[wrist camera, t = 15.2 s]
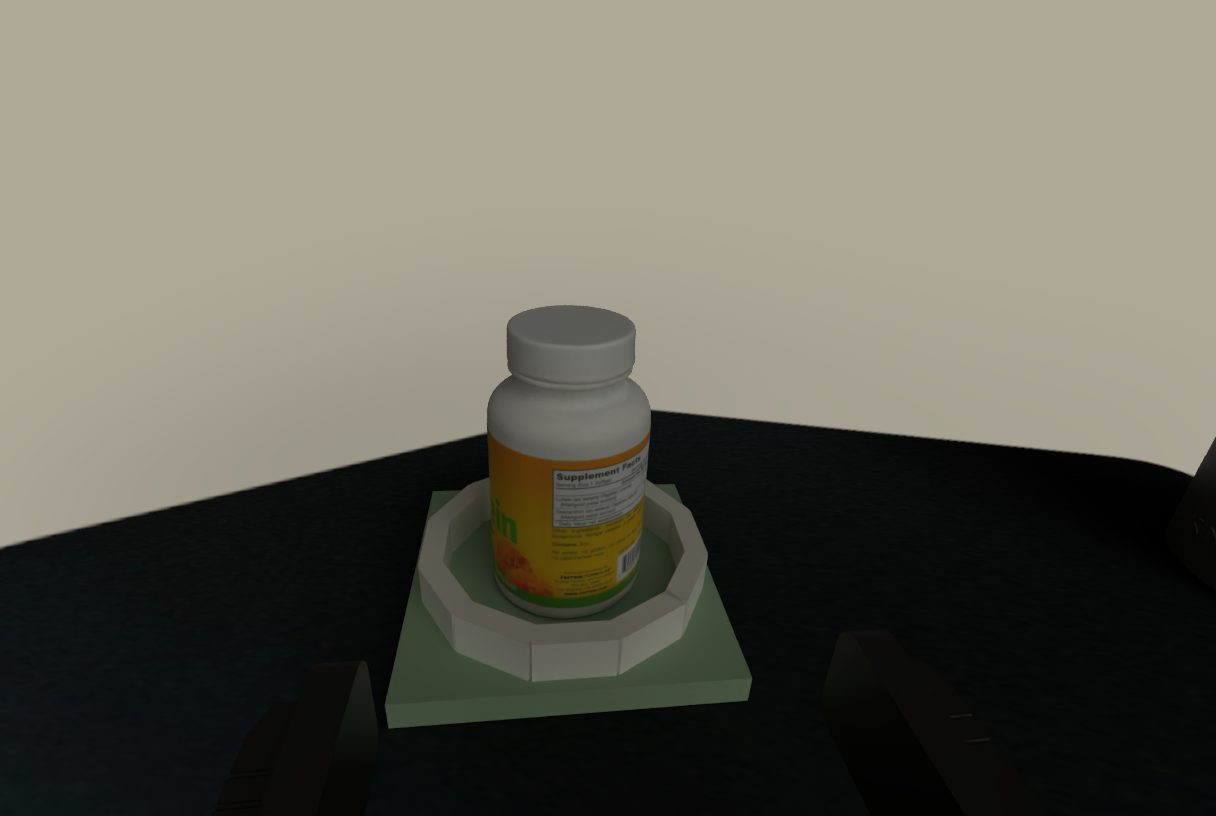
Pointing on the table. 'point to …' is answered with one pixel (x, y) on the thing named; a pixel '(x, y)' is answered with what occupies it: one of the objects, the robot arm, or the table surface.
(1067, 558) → the table surface
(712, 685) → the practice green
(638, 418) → the supplement bottle
